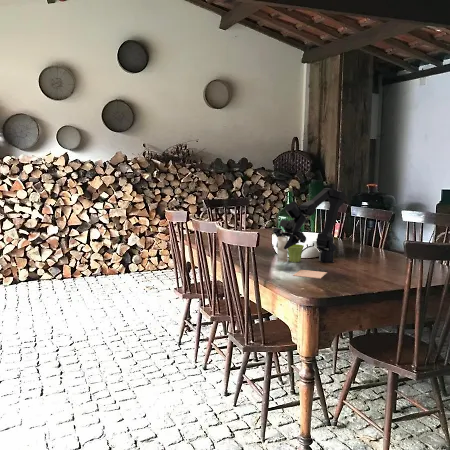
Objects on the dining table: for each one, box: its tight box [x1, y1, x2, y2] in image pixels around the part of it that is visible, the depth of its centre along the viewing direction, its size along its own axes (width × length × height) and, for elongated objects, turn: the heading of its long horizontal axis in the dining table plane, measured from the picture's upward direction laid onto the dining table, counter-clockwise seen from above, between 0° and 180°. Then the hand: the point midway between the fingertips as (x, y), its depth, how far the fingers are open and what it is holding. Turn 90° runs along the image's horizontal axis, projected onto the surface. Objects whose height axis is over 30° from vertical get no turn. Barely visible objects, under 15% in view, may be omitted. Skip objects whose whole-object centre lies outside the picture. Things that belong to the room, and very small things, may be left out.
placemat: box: [292, 269, 328, 280], centre depth 233 cm, size 13×13×1 cm
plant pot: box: [288, 243, 305, 263], centre depth 263 cm, size 9×9×9 cm
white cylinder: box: [276, 236, 289, 263], centre depth 241 cm, size 5×5×12 cm
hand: (280, 248), depth 240 cm, fingers closed on white cylinder, 5 cm apart
